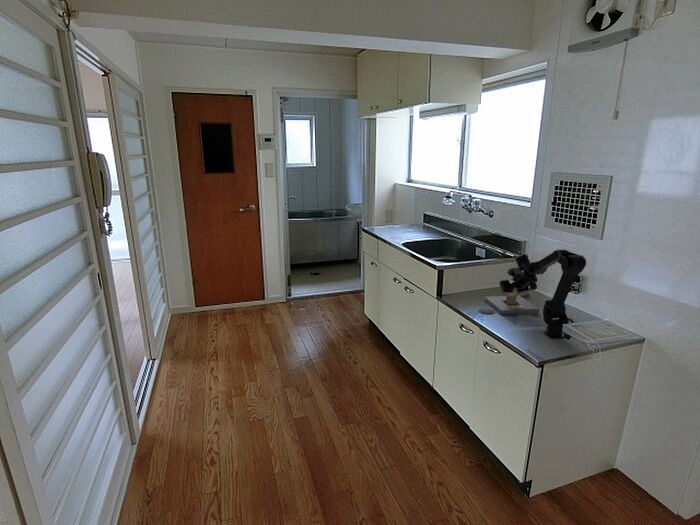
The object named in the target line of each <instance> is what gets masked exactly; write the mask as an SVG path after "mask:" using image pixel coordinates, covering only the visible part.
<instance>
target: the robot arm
mask: <svg viewBox="0 0 700 525" xmlns="http://www.w3.org/2000/svg"><path fill="white" fill-rule="evenodd" d="M514 260H515V262H516V265H517V267H511V268H509V269H508V271H507V275H509V276H510V277H512V278H511V279H512V280H513V281H514V282H512V284H510V282H509V280H510V279H500V281H499V282H498V283H499V286H500V289H501V291H502V292H501V293H503V292H506V293H510V292H513V289H514V288H517V289H518V290H517V292H523V291H528V292H529V291H535V290H536V289H538V285H537V282H538V276H537V275H539V276H540V275H543V274H545V273H546V272H547V271H548V268H550V267H551V266H553V265H555V264H557V263H558V264H559V265H560V267H561V271H562V274H561V277H560V279H559V281H558V283H557V287H556V289H555V291H554V294H553V295H552V296H553V297H552V299H548V300H545V302H544V305H543V306H542V308H543V309H542V317H543V322H544V323H545V325H546V331H543V332H542V333H543V334H544V335H546V336H547V337H548V338H550V339H553V340H554V339H565V338H566V337H565V335H563V328H564V325H568V323H569V322H570V321H569V317H568V316H567V313H566V310H567V307H566V304H565V302H566V300H567V298H568V295H569V294H570V291H571V288H572V286H573V283H574V281H575V279H576V277H577V276H578V275H579V274H581V273H582V272H583V271H584V269H585V268H586V266H587V260H586V258H585V257H584V255H583V254H581V255H580V254H577V253H575V252H572V251H569V250H567V249H555V250H553V252H551V253H549V254H548V255H547V256H545V257H543V258H541V259H540V260H537V261H530V259H529V256H528V254H526V253H525V254H522V255H520V256H517V257H516V258H515V259H514Z"/></svg>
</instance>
